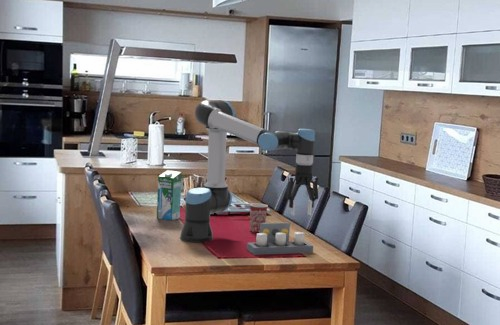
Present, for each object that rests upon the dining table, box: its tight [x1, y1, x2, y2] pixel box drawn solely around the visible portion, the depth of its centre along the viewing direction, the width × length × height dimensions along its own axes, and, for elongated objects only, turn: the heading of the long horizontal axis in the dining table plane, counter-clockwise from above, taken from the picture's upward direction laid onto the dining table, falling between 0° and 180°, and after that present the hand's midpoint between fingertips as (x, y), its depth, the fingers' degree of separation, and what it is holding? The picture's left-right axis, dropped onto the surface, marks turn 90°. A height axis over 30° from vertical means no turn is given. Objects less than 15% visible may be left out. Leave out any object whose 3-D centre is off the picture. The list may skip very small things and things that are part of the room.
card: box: [260, 222, 291, 242], centre depth 302 cm, size 14×1×12 cm, turn 110°
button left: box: [255, 233, 267, 247], centre depth 292 cm, size 5×5×5 cm
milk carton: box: [156, 169, 183, 222], centre depth 352 cm, size 9×9×25 cm
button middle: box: [275, 232, 286, 246], centre depth 295 cm, size 5×5×5 cm
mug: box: [249, 203, 269, 233], centre depth 337 cm, size 13×9×14 cm
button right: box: [293, 231, 305, 245], centre depth 299 cm, size 5×5×5 cm
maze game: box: [215, 202, 271, 216], centre depth 382 cm, size 35×20×3 cm, turn 108°
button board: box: [246, 240, 314, 256], centre depth 296 cm, size 28×9×4 cm, turn 110°
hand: (300, 214), depth 297 cm, fingers open, 8 cm apart
